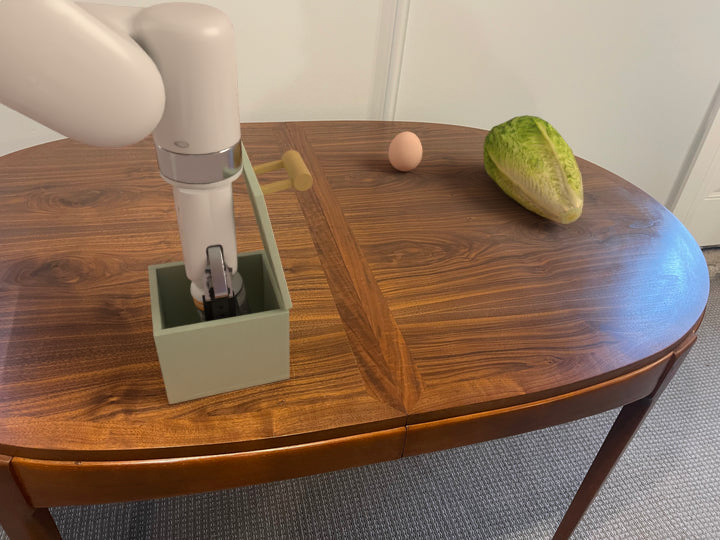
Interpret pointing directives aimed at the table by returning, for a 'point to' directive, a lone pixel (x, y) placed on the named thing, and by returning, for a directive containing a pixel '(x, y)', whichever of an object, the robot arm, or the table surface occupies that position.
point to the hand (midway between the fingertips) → (216, 301)
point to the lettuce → (535, 168)
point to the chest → (218, 333)
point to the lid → (297, 179)
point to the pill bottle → (238, 288)
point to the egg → (405, 151)
